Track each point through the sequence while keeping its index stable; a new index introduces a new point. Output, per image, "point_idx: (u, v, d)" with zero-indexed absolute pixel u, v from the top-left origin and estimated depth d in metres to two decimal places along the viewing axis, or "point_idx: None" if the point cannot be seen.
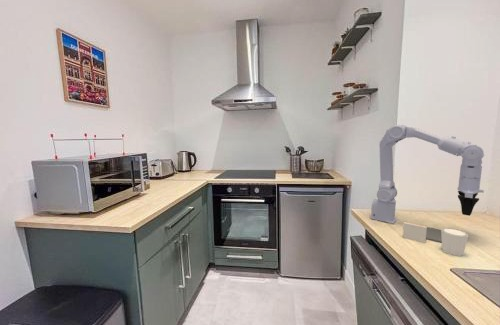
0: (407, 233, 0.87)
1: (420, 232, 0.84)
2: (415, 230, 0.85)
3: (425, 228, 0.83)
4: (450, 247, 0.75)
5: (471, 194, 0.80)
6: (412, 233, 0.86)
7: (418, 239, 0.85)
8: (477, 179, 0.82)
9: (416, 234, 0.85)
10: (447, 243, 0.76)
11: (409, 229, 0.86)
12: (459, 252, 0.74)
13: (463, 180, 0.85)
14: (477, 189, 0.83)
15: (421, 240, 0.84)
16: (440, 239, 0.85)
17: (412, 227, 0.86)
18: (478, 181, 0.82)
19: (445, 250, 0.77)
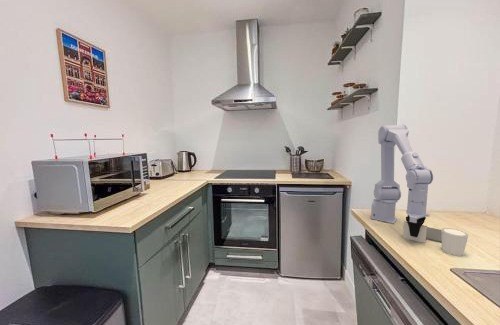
0: (407, 233, 0.87)
1: (420, 232, 0.84)
2: None
3: (425, 228, 0.83)
4: (450, 247, 0.75)
5: (415, 219, 0.79)
6: None
7: (418, 239, 0.85)
8: (423, 203, 0.82)
9: None
10: (447, 243, 0.76)
11: None
12: (459, 252, 0.74)
13: (410, 203, 0.84)
14: (423, 213, 0.82)
15: (421, 240, 0.84)
16: (440, 239, 0.85)
17: None
18: (424, 205, 0.82)
19: (445, 250, 0.77)
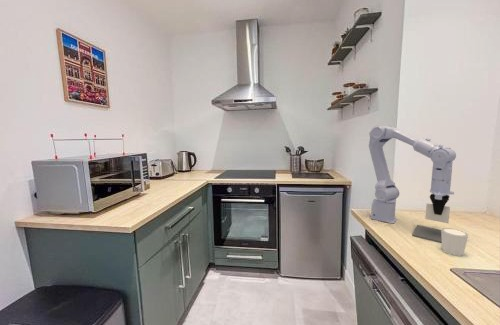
0: (430, 214, 0.89)
1: (443, 213, 0.87)
2: None
3: (448, 209, 0.85)
4: (450, 247, 0.75)
5: (440, 196, 0.82)
6: (435, 214, 0.88)
7: (441, 220, 0.87)
8: (447, 181, 0.84)
9: (439, 215, 0.87)
10: (447, 243, 0.76)
11: (432, 210, 0.89)
12: (459, 252, 0.74)
13: (434, 182, 0.86)
14: (447, 191, 0.85)
15: (444, 220, 0.87)
16: (440, 239, 0.85)
17: None
18: (448, 183, 0.84)
19: (445, 250, 0.77)
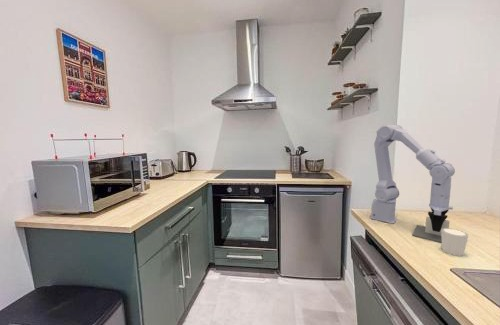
0: (429, 227, 0.90)
1: (443, 226, 0.87)
2: None
3: (448, 222, 0.86)
4: (450, 247, 0.75)
5: (439, 212, 0.82)
6: None
7: None
8: (446, 197, 0.85)
9: None
10: (447, 243, 0.76)
11: (431, 224, 0.89)
12: (459, 252, 0.74)
13: (433, 197, 0.87)
14: (446, 206, 0.85)
15: None
16: (440, 239, 0.85)
17: None
18: (447, 198, 0.85)
19: (445, 250, 0.77)
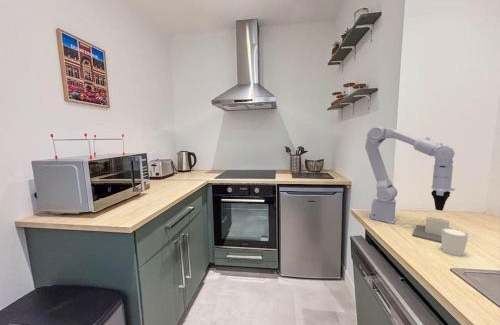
0: (429, 227, 0.90)
1: (443, 226, 0.87)
2: (438, 224, 0.88)
3: (448, 222, 0.86)
4: (450, 247, 0.75)
5: (442, 192, 0.85)
6: (435, 227, 0.89)
7: None
8: (448, 178, 0.88)
9: (439, 228, 0.88)
10: (447, 243, 0.76)
11: (431, 224, 0.89)
12: (459, 252, 0.74)
13: (436, 179, 0.90)
14: (448, 187, 0.88)
15: None
16: (440, 239, 0.85)
17: (435, 222, 0.89)
18: (449, 180, 0.88)
19: (445, 250, 0.77)
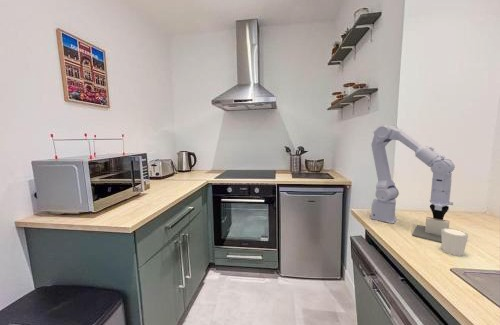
0: (429, 228, 0.90)
1: (443, 227, 0.87)
2: (438, 225, 0.88)
3: (448, 223, 0.86)
4: (450, 247, 0.75)
5: (440, 207, 0.83)
6: (434, 228, 0.89)
7: None
8: (447, 192, 0.86)
9: (439, 229, 0.88)
10: (447, 243, 0.76)
11: (431, 224, 0.89)
12: (459, 252, 0.74)
13: (434, 193, 0.88)
14: (447, 202, 0.86)
15: None
16: (440, 239, 0.85)
17: (434, 222, 0.88)
18: (448, 194, 0.86)
19: (445, 250, 0.77)
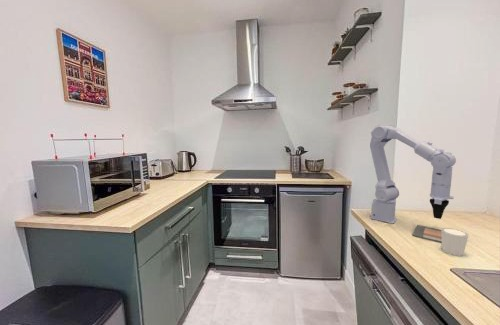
0: None
1: None
2: None
3: None
4: (450, 247, 0.75)
5: (440, 201, 0.82)
6: None
7: None
8: (447, 186, 0.85)
9: None
10: (447, 243, 0.76)
11: None
12: (459, 252, 0.74)
13: (434, 187, 0.87)
14: (447, 196, 0.85)
15: None
16: None
17: None
18: (448, 188, 0.85)
19: (445, 250, 0.77)
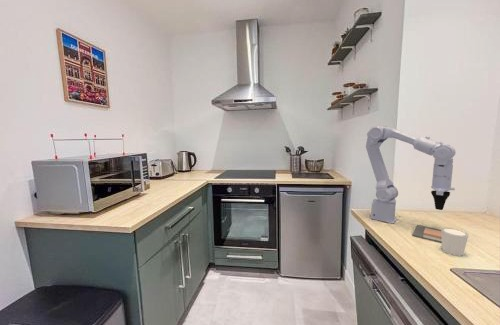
0: None
1: None
2: None
3: None
4: (450, 247, 0.75)
5: (442, 192, 0.84)
6: None
7: None
8: (448, 177, 0.86)
9: None
10: (447, 243, 0.76)
11: None
12: (459, 252, 0.74)
13: (435, 178, 0.89)
14: (448, 187, 0.87)
15: None
16: None
17: None
18: (449, 179, 0.86)
19: (445, 250, 0.77)
